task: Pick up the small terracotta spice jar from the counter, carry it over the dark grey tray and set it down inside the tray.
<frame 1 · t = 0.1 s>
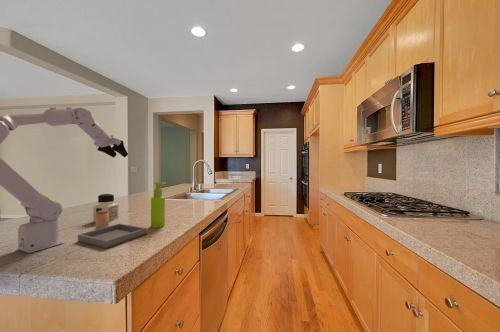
hand: (120, 155, 99), 32 cm above the table, tool tilted 50°, fingers open, 7 cm apart
soap dispenser: (158, 226, 98), on the table
tray: (113, 237, 82), on the table
spice jar: (102, 229, 93), on the table
container: (106, 220, 107), on the table
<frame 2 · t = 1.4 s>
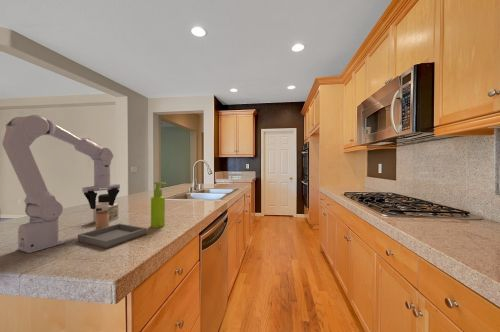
hand: (102, 207, 93), 10 cm above the table, tool pointing down, fingers open, 7 cm apart
nothing on the table moved.
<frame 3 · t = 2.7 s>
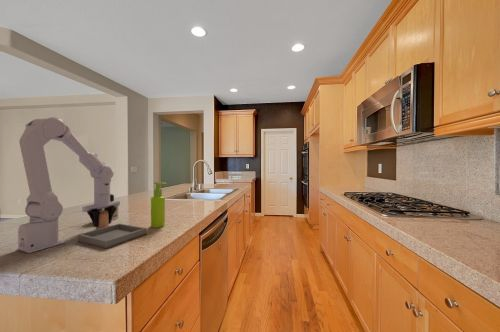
hand: (102, 225, 93), 2 cm above the table, tool pointing down, fingers closed on spice jar, 5 cm apart
spice jar: (102, 229, 93), on the table, touching gripper
everything else where it was.
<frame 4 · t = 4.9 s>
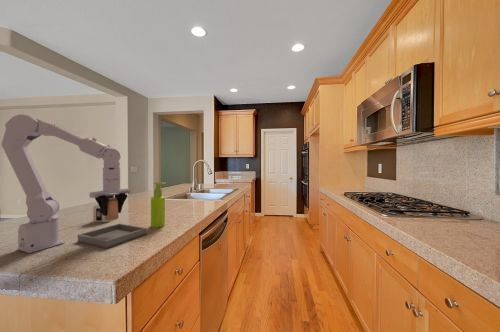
hand: (111, 213, 84), 9 cm above the table, tool pointing down, fingers closed on spice jar, 5 cm apart
spice jar: (111, 218, 84), point 7 cm above the table, touching gripper
everything else where it was.
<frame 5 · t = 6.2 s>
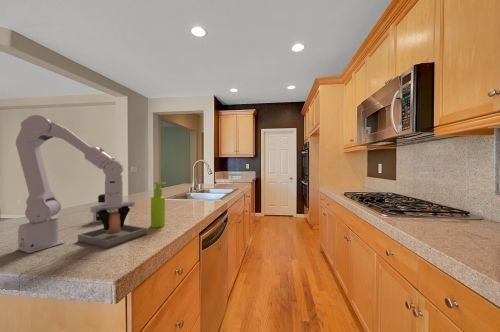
hand: (113, 227, 82), 4 cm above the table, tool pointing down, fingers closed on spice jar, 5 cm apart
spice jar: (113, 232, 82), point 2 cm above the table, touching gripper
everything else where it was.
when the fingers open (4 cm above the table, at t = 6.9 s): spice jar drops 1 cm, resting on tray.
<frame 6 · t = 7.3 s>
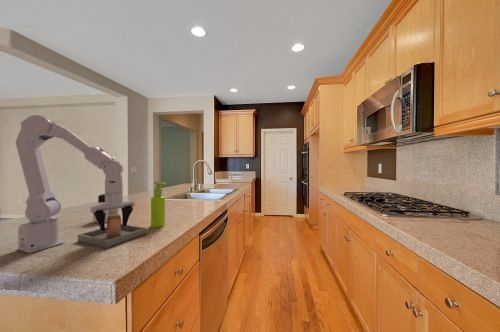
hand: (113, 227, 82), 4 cm above the table, tool pointing down, fingers open, 7 cm apart
spice jar: (113, 236, 82), point 1 cm above the table, touching tray
everything else where it was.
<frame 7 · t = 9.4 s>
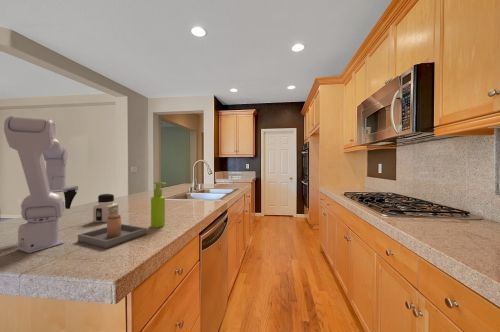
hand: (56, 210, 86), 9 cm above the table, tool pointing down, fingers open, 7 cm apart
nothing on the table moved.
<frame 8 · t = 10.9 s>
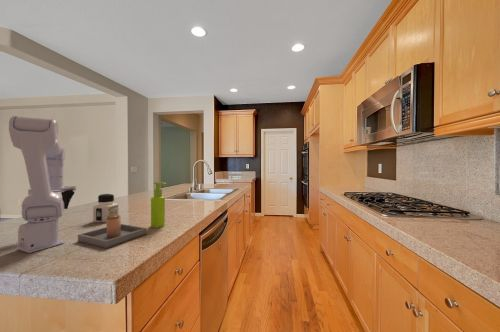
hand: (53, 210, 86), 9 cm above the table, tool pointing down, fingers open, 7 cm apart
nothing on the table moved.
at the end: spice jar inside the target area on the tray (0.1 cm from its centre), point 0.7 cm above the tray's base; spice jar tilted 2°; the gripper is holding nothing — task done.
